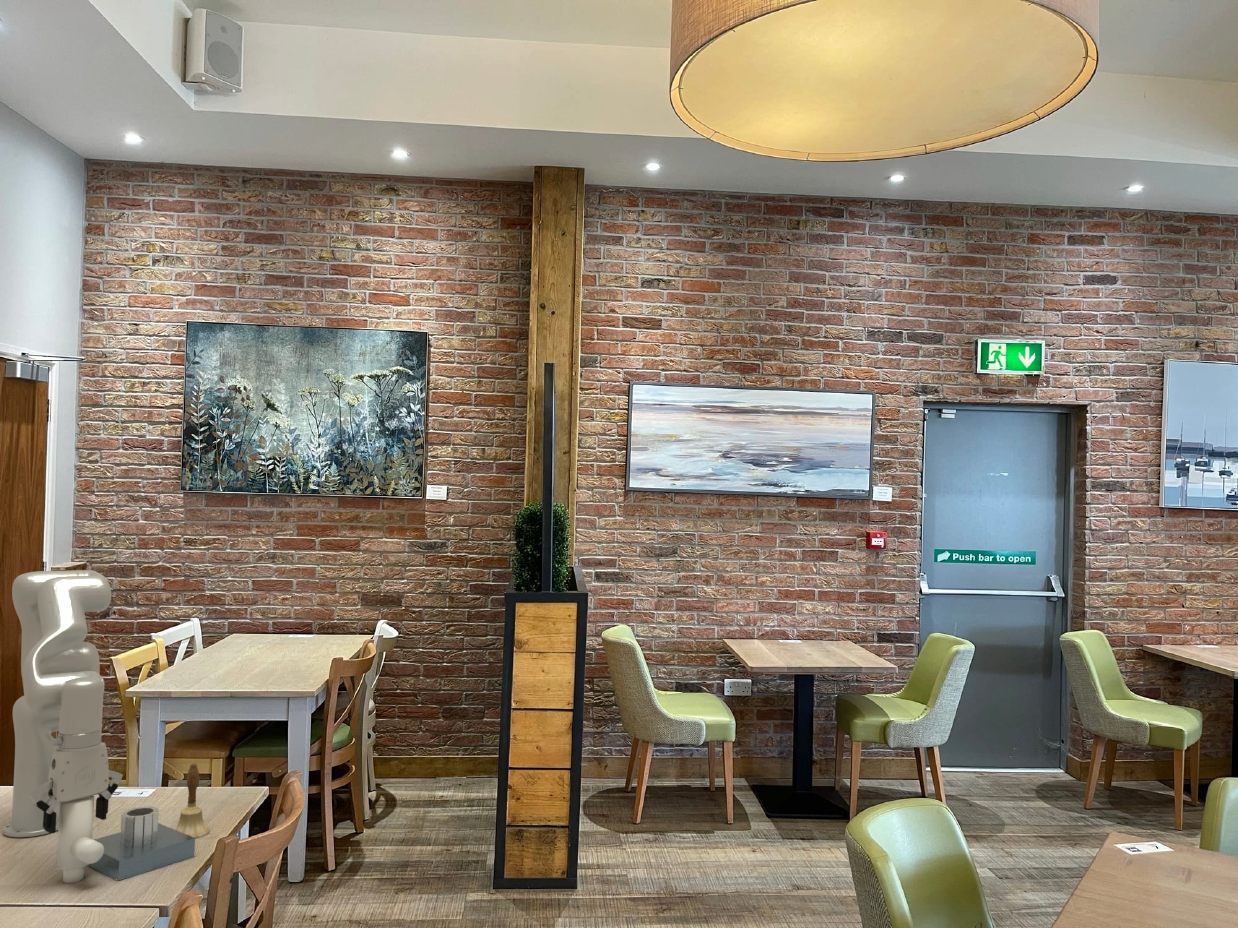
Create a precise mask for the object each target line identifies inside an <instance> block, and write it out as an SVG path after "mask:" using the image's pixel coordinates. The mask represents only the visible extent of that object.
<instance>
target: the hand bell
mask: <svg viewBox="0 0 1238 928" xmlns="http://www.w3.org/2000/svg"><path fill="white" fill-rule="evenodd" d="M199 782H200V772H199V769H198V765H197V763H191V764H190V766H189V769H188V771H187V775H186V786H187V791H188V797H187V807H185V808H183V809H182V810H181V811H180V815H179V820H178V823H177V825H176V826H175V828H173V829H174V830H177V831H179V832H182V833H184V834H187V835H189V836H192V837H194V838H195V839H199V838H203V837H205V836H207V835H209V833H210V832H211V830H210V828H209V826H208V825H206V824H205V821H204V818H203V810H202V808H201V807H198V806H197V789H198V786H199Z"/></svg>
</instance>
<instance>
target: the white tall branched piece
mask: <svg viewBox="0 0 1238 928" xmlns="http://www.w3.org/2000/svg"><path fill="white" fill-rule="evenodd" d="M94 805H95V795H93V796H89V797H84V798H80V799H76V800H72V801H67V802H60V808H59V828H58V830H57V831H58V833H57V848H56V849H57V850H56V851H57V853H56V869H58V870H61V871H63V872H62V882H63V883H64V884H72V883H77V882H81V881H82V880H83V879H84V876H85V867H87V865H89V864H92V863H95V862H97V861H98V860H99V859H100V858H101V857H102V855H103V853H104V847H103V845H102V844H101V843H99V842H97V841H95V840H94V839H93V830H94V827H93V825H94V810H95V809H94V807H95V806H94ZM81 879H82V880H81Z"/></svg>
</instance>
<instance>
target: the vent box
mask: <svg viewBox="0 0 1238 928" xmlns="http://www.w3.org/2000/svg"><path fill="white" fill-rule="evenodd" d="M120 818H121V819H120V832H116V833H112V834H109V835H106V836H102V837H98V838H94V839H93V840H95V841H97V842H99V843H101V844H102V845H103V847H104V853H103V855H102V857H101V858H100V859H99V860H98V861H97V862H95V863H92V864H89V865H88V867H89V866H90V868H91V869H93V868H94V870H95V871H97V870H98V872H99V871H100V872H99V873H101V872H102V873H101V874H103V873H104V875H105V876H107V877H109V876H110V877H109V878H112V879H113V878H114V880H115V879H117V880H118V882H119V880H120V881H123V880H125V878H126V879H129V878H132V877H134V876H135V877H136V876H138V875H142V874H145V873H148V872H151V871H154V870H157V869H160V868H163V867H167V866H169V865H173V864H177V863H178V862H182V861H185V860H188V859H191V858H195V850H196V849H195V848H196V847H195V846H196V838H194V837H192V836H189V835H187V834H184V833H182V832H179V831H177V830H174V829H175V828H172V827H169V826H167V825H165V824H162V823H160V822H159V807H156V806H138V807H134V808H133V807H132V808H129V809H126V810H125V811H122V812H121V817H120ZM131 876H132V877H131ZM122 879H123V880H122ZM117 880H116V881H117Z"/></svg>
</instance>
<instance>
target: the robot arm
mask: <svg viewBox="0 0 1238 928" xmlns="http://www.w3.org/2000/svg"><path fill="white" fill-rule="evenodd" d="M110 585H111V584H110V583H109V581H108V579H107V578H106V576H104V575H103V574H102V573H99V572H98V571H96V570H93V569H92V570H89V569H88V570H87V569H86V570H85V569H82V570H81V569H79V570H78V569H77V570H76V569H75V570H73V569H72V570H42V571H41V570H39V571H30V572H26V573H23V574H19V575H18V576H17V577H15V579H14V581H13V583H12V587H11V588H12V589H11V593H12V603H13V606H14V609H15V612H16V614H17V617H18V619H19V621H20V622H19V623H20V626H21V627H20V628H21V650H20V652H21V655H20V657H21V658H20V668H21V669H20V671H21V678H22V687H23V695H22V696H20V697H19V698H18V699H17V700H16V701H15V702H14V704H13V707H12V721H13V729H14V730H13V731H14V741H15V743H14V745H15V747H14V768H13V769H14V770H13V773H14V774H13V788H12V789H13V790H12V791H13V792H12V808H11V821H10V822H8V823H7V824H5V825H4V826H3V828H2V833H3V835H4V836H6V837H10V838H30V837H38V836H44V835H47V834H54V833H55V832H57V831H58V828H59V808H60V802H67V801H72V800H76V799H80V798H84V797H89V796H96V795H98V797H96V800H95V818H97V819H99V820H101V821H104V820H107V814H108V812H109V800H110V799H112V796H113V794H114V793H115V792H116V790H117V789H118V788H119V784H120V782H121V781H122V778H123V776H124V775H123V774H122V773H120V772H117V771H114V770H110V769H109V758H108V757H109V756H108V750H107V745H106V743H105V742H102V730H103V708H104V694H105V679H104V678H103V677H102V676H101V674H100V672H101V669H100V667H101V666H100V665H101V663H100V655H99V652H98V649H97V647H96V645H95V644H93V643H92V642H87V641H85V640H86V638H87V636H88V625H87V619H86V615H85V614H86V613H91V612H93V613H94V612H103V611H105V610H107V609H108V607H109V606H110V604H111V600H112V589H111V586H110ZM55 732H58V733H57V737H54V736H53V735H52V733H55ZM110 778H111V780H110Z"/></svg>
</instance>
